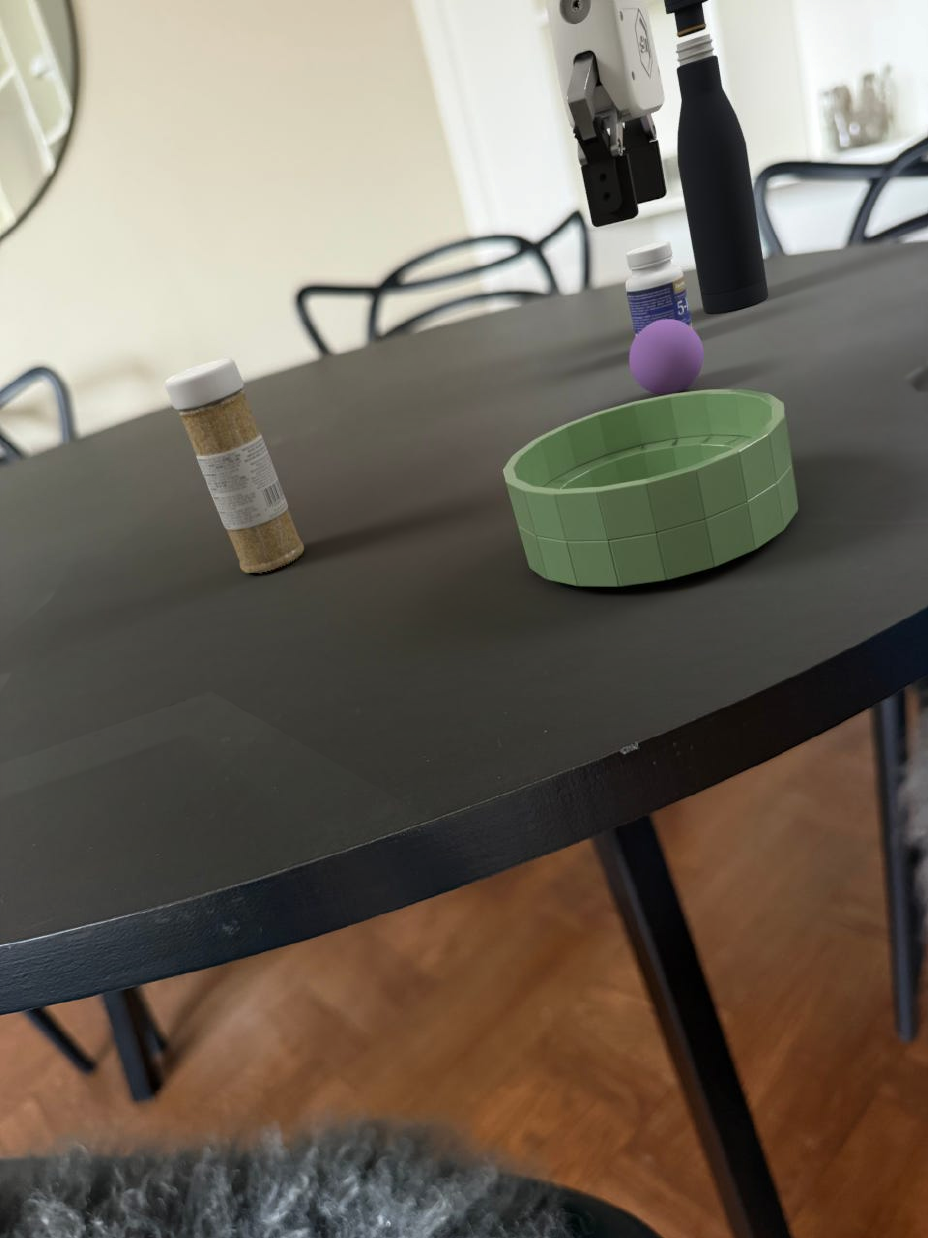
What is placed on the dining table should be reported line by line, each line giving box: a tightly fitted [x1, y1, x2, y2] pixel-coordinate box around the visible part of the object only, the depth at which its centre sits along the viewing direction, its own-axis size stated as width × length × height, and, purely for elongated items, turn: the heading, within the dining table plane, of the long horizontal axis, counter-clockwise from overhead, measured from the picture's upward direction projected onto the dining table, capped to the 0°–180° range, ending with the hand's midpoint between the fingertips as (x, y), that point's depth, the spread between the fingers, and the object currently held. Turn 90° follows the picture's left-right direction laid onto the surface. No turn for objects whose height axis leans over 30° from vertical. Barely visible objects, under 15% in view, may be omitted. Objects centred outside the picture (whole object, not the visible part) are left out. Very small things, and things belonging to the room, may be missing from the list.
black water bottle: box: [663, 0, 769, 315], centre depth 94 cm, size 6×6×30 cm
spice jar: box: [164, 358, 305, 574], centre depth 64 cm, size 5×5×13 cm
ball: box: [628, 319, 705, 396], centre depth 76 cm, size 6×6×6 cm
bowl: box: [502, 388, 799, 588], centre depth 51 cm, size 14×14×6 cm
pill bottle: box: [625, 240, 694, 338], centre depth 91 cm, size 5×5×9 cm
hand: (632, 211), depth 72 cm, fingers open, 9 cm apart
